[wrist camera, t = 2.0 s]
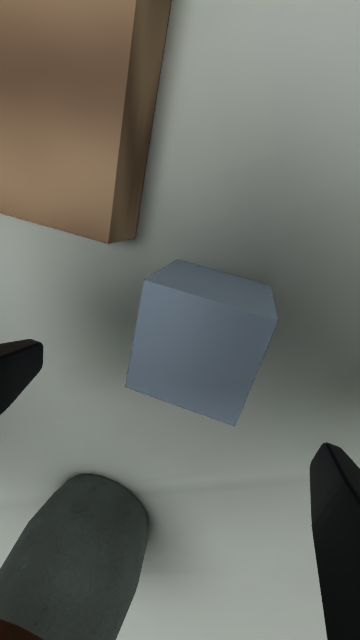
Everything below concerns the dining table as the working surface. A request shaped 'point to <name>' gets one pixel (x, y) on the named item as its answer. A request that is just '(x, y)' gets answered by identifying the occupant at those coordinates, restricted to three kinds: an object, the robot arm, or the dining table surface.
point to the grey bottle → (75, 564)
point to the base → (78, 111)
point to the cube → (200, 339)
